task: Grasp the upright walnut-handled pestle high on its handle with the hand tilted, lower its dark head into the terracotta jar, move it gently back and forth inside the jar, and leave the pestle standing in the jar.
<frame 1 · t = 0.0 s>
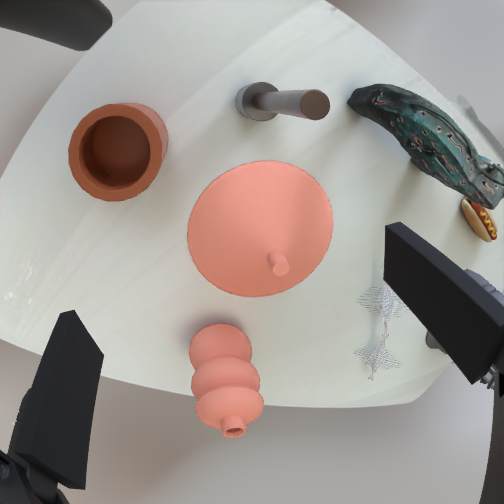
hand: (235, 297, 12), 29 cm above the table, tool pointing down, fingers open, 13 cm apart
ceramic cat: (393, 134, 39), on the table
jar: (128, 142, 34), on the table
food: (472, 213, 50), on the table
lantern: (453, 316, 64), on the table
test tube brush: (371, 321, 57), on the table
ceramic vessels: (245, 275, 46), on the table
pestle: (253, 101, 34), on the table
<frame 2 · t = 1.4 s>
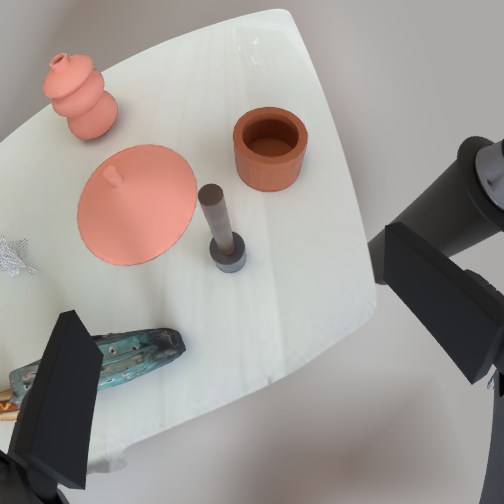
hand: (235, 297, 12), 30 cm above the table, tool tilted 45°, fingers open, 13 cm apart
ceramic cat: (126, 361, 39), on the table
jar: (268, 163, 47), on the table
food: (13, 404, 36), on the table
test tube brush: (1, 242, 44), on the table
ceramic vessels: (118, 170, 47), on the table
pestle: (230, 257, 43), on the table
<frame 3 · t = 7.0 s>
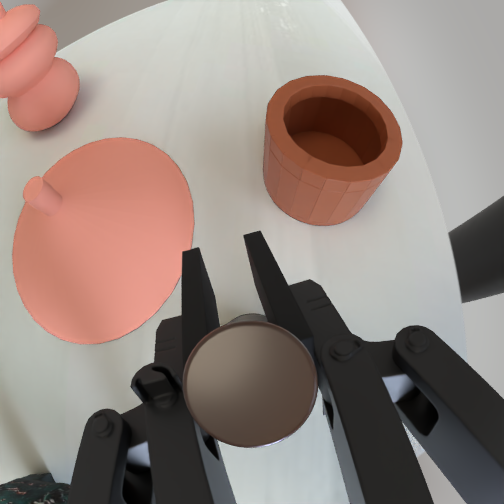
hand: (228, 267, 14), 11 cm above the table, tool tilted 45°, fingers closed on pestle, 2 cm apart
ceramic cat: (92, 480, 20), on the table
jar: (317, 175, 27), on the table
ceramic vessels: (72, 178, 28), on the table
pestle: (252, 345, 23), on the table, touching gripper
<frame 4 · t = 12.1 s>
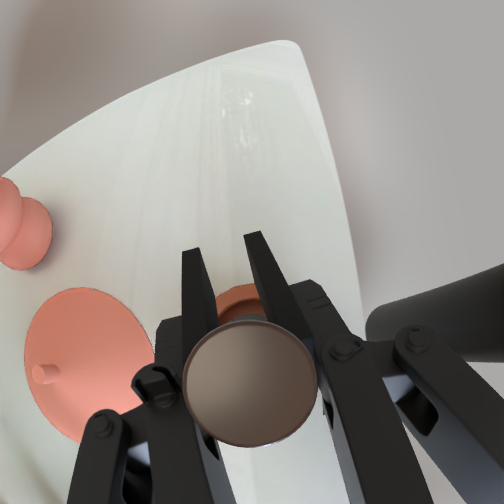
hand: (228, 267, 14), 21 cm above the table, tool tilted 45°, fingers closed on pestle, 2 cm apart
jar: (254, 340, 33), on the table
ceramic vessels: (61, 320, 34), on the table
pestle: (252, 345, 23), point 10 cm above the table, touching gripper
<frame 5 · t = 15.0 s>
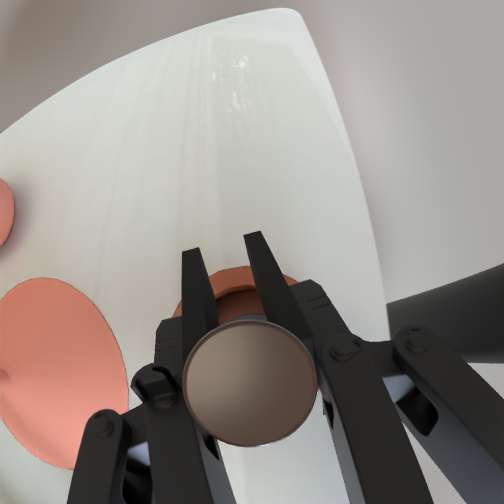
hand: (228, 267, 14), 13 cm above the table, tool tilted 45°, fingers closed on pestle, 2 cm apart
jar: (249, 344, 25), on the table
ceramic vessels: (21, 317, 26), on the table
pestle: (252, 345, 23), point 2 cm above the table, touching gripper
when the fingers open (12 cm above the table, at t = 17.2 s): pestle stays where it is, resting on jar.
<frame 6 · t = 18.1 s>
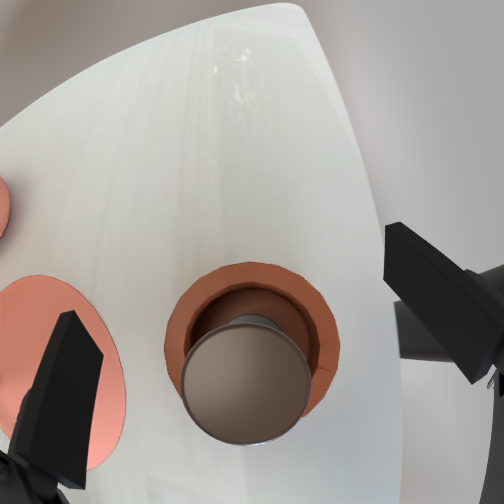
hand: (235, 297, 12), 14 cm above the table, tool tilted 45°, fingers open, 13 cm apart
jar: (252, 345, 24), on the table, touching pestle
ceramic vessels: (16, 316, 25), on the table
pestle: (251, 346, 23), point 1 cm above the table, touching jar
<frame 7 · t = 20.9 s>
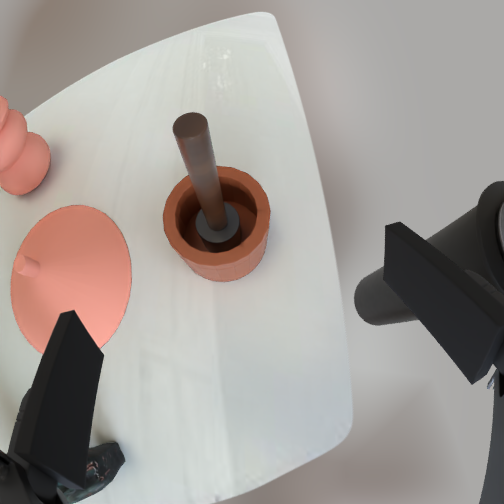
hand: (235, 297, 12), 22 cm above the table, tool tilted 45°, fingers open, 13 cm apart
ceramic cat: (69, 457, 28), on the table
jar: (223, 239, 36), on the table, touching pestle
ceramic vessels: (49, 237, 36), on the table
pestle: (222, 237, 35), point 1 cm above the table, touching jar
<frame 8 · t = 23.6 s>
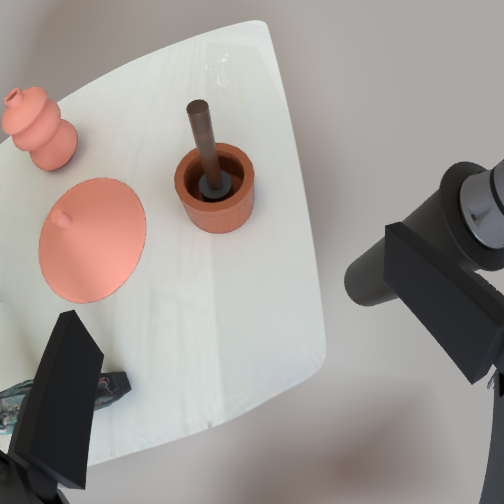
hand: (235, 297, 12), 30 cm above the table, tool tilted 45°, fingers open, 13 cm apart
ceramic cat: (80, 393, 37), on the table
jar: (219, 201, 45), on the table, touching pestle
ceramic vessels: (76, 204, 46), on the table
pestle: (218, 199, 44), point 1 cm above the table, touching jar
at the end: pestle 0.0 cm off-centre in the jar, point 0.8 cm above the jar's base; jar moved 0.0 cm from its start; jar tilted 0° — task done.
